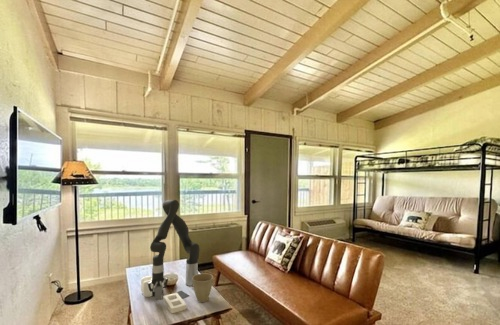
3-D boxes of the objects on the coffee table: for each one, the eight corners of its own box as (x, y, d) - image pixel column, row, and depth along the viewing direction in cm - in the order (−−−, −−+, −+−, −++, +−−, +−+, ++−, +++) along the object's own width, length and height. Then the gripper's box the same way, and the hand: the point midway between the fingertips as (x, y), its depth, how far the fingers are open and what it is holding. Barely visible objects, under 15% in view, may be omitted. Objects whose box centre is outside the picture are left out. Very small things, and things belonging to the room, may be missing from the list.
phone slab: (181, 291, 195) (181, 290, 195) (189, 296, 188) (189, 295, 188) (174, 294, 191) (174, 292, 191) (182, 299, 184) (182, 298, 184)
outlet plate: (176, 296, 186) (177, 292, 187) (186, 309, 170) (186, 304, 170) (163, 300, 181) (163, 296, 181) (171, 313, 164) (171, 308, 164)
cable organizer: (141, 298, 183) (142, 282, 183) (140, 292, 192) (141, 276, 193) (163, 294, 190) (164, 278, 190) (161, 288, 199) (161, 273, 200)
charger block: (160, 296, 180) (160, 283, 180) (161, 299, 176) (162, 285, 176) (153, 298, 177) (153, 285, 177) (155, 301, 174) (155, 287, 174)
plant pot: (212, 294, 191) (213, 272, 192) (213, 304, 177) (213, 281, 177) (192, 295, 189) (192, 273, 189) (191, 305, 174) (191, 282, 175)
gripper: (166, 266, 184) (166, 290, 184) (145, 271, 176) (145, 296, 176) (169, 270, 178) (169, 294, 178) (148, 274, 170) (148, 300, 170)
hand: (157, 295), depth 177 cm, fingers closed on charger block, 4 cm apart
